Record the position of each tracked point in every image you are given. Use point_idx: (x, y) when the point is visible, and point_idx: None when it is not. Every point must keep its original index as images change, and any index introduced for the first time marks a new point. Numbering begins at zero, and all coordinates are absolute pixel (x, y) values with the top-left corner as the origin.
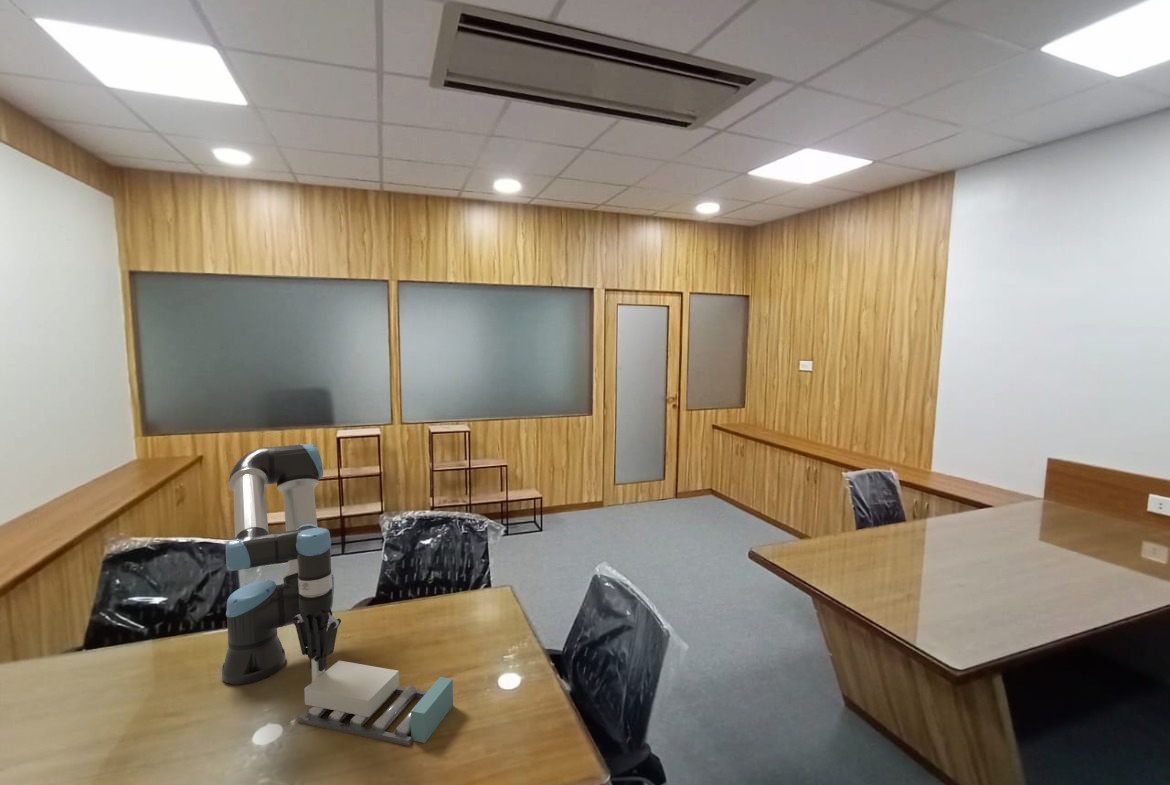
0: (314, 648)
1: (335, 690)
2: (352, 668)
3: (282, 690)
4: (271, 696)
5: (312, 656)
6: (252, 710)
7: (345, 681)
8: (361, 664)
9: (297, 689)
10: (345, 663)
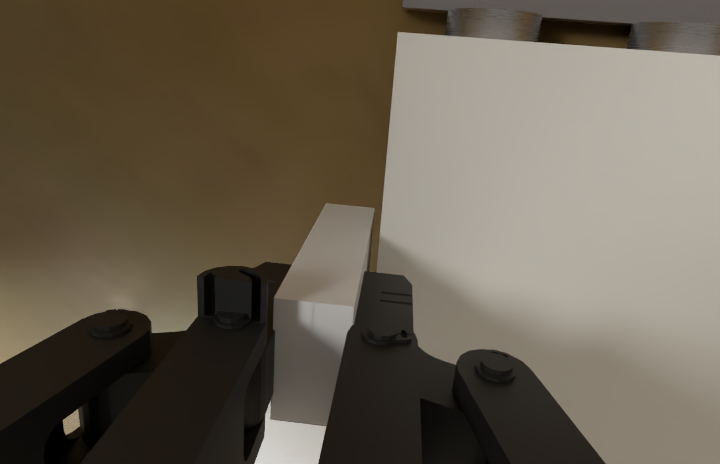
0: (237, 455)
1: (628, 440)
2: (630, 143)
3: (58, 144)
4: (48, 205)
5: (264, 421)
6: (59, 318)
7: (660, 336)
8: (705, 57)
9: (138, 118)
10: (505, 73)
